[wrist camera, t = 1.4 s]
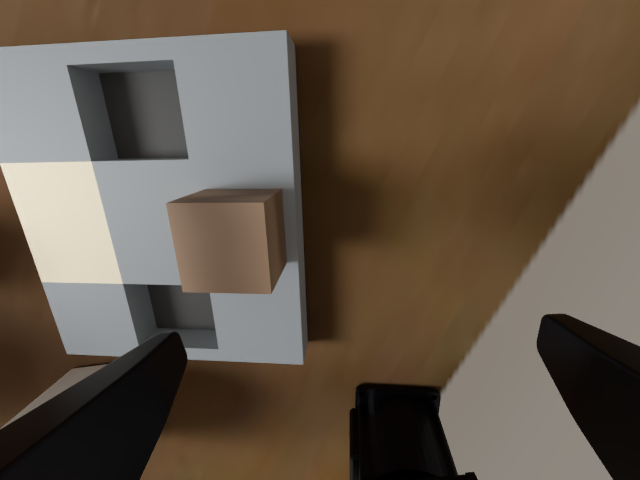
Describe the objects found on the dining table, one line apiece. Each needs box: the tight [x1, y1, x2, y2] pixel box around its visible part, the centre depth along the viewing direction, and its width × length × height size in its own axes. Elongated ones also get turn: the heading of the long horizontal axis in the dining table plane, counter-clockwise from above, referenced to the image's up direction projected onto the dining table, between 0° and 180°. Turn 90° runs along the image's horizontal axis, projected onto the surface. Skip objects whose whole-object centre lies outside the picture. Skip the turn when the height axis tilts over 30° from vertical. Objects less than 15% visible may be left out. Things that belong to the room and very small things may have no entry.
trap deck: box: [0, 30, 308, 365], centre depth 20 cm, size 18×20×2 cm
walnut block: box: [166, 188, 287, 294], centre depth 16 cm, size 5×5×4 cm
